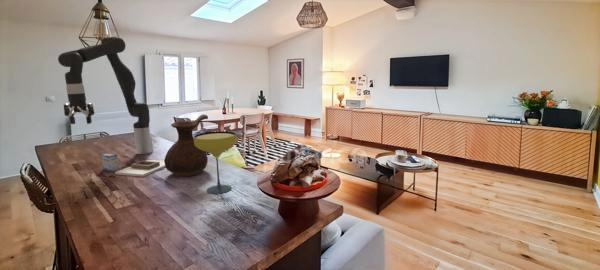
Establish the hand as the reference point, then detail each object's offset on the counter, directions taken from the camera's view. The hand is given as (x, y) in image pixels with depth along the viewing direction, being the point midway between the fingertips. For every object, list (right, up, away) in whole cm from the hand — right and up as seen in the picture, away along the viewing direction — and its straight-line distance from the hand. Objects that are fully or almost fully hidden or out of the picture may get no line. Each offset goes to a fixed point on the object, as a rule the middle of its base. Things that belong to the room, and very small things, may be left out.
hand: (81, 123), depth 169 cm
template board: (+29, -25, +10) cm, 39 cm away
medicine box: (+10, -25, +10) cm, 29 cm away
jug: (+56, -26, +1) cm, 61 cm away
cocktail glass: (+78, -31, -24) cm, 87 cm away
